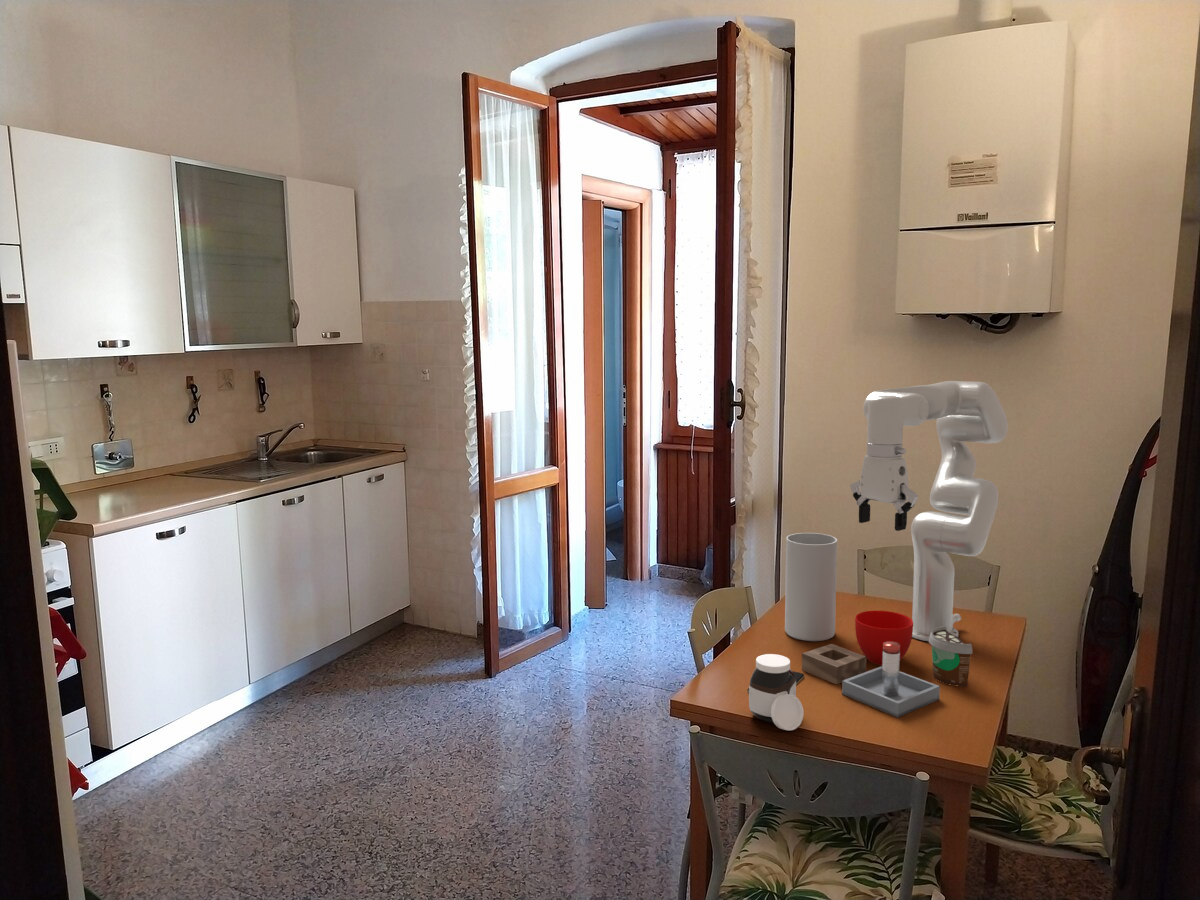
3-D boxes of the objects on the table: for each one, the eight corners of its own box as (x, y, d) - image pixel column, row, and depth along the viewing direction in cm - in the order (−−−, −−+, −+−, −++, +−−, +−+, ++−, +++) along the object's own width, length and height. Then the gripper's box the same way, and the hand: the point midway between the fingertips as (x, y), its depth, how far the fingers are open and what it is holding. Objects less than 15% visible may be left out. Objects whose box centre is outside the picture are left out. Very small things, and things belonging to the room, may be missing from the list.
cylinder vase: (784, 640, 215) (785, 543, 212) (785, 623, 227) (786, 531, 224) (835, 644, 212) (837, 546, 209) (834, 626, 224) (836, 533, 221)
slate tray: (883, 678, 191) (883, 665, 191) (939, 699, 180) (939, 686, 180) (842, 694, 183) (842, 680, 183) (897, 717, 172) (898, 703, 172)
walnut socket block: (831, 659, 202) (831, 643, 202) (865, 673, 194) (866, 656, 193) (801, 670, 197) (802, 653, 196) (836, 684, 188) (836, 667, 188)
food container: (917, 668, 197) (919, 626, 195) (943, 666, 197) (945, 625, 196) (943, 690, 184) (945, 646, 183) (970, 689, 185) (972, 644, 183)
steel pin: (888, 689, 184) (889, 640, 182) (901, 694, 181) (903, 645, 180) (878, 693, 182) (879, 643, 180) (891, 698, 179) (893, 648, 178)
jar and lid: (767, 701, 181) (768, 648, 179) (817, 716, 174) (818, 661, 172) (738, 721, 172) (738, 666, 170) (789, 738, 164) (790, 680, 163)
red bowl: (929, 655, 204) (930, 614, 203) (895, 675, 193) (897, 633, 191) (878, 641, 213) (879, 602, 212) (843, 660, 202) (844, 619, 200)
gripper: (928, 453, 186) (925, 530, 188) (863, 445, 200) (861, 517, 202) (907, 457, 182) (904, 535, 184) (842, 448, 196) (840, 521, 198)
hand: (881, 525), depth 193 cm, fingers open, 9 cm apart
